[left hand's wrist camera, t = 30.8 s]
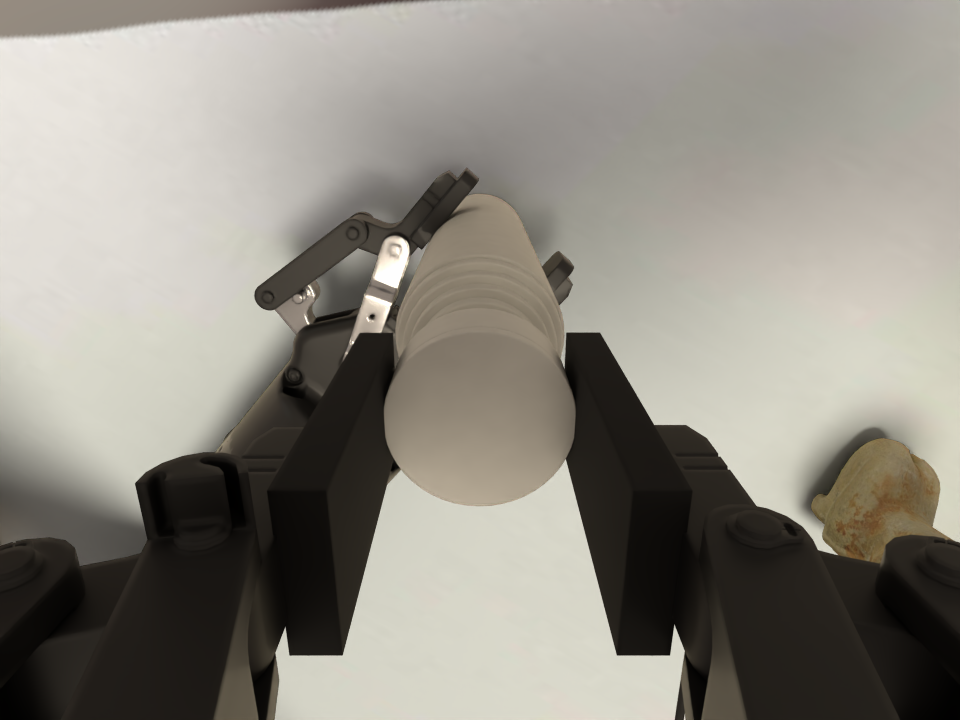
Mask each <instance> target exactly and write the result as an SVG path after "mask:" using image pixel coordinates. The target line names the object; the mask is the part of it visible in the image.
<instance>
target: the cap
mask: <svg viewBox="0 0 960 720" xmlns="http://www.w3.org/2000/svg"><path fill="white" fill-rule="evenodd" d="M575 416H576V405H575V400H574V396H573V393H572V390H571V387H570V384H569V381H568V378H567V375H566V373H565V370H564V367H563V364H562V361H561V359H560V357H559V355H558V353H557V351H556V349H555V348H554V346H553V345H552V343H551V342H550V341H549V339H548V338H547V337H546V336H545V335H544V334H543V333H542V332H541V331H540V330H539V329H538V328H536V327H535V326H534V325H532V324H531V323H529V322H528V321H526V320H524V319H522V318H520V317H518V316H516V315H514V314H511V313H508V312H505V311H501V310H496V309H488V308H471V309H464V310H458V311H455V312H452V313H448V314H446V315H443V316H441V317H439V318H437V319H435V320H433V321H432V322H430V323H429V324H427V325H426V326H425V327H423V328H422V329H421V330H420V331H419V332H417V333H416V335H415V336H414V337H413V338H412V339H411V340H410V341H409V343H408V344H407V346H406V347H405V349H404V350H403V352H402V354H401V356H400V358H399V360H398V363H397V366H396V369H395V372H394V375H393V377H392V380H391V383H390V386H389V389H388V392H387V395H386V398H385V403H384V424H385V438H386V442H387V445H388V447H389V450H390V452H391V455H392V456H393V458H394V460H395V461H396V463H397V465H398V466H399V467H400V469H401V470H402V471H403V472H404V474H405V475H406V476H407V477H408V478H409V479H410V480H411V481H413V482H414V483H415V484H416V485H418V486H419V487H420V488H422V489H423V490H425V491H426V492H428V493H430V494H432V495H434V496H436V497H438V498H441V499H443V500H446V501H449V502H452V503H456V504H462V505H469V506H491V505H498V504H503V503H507V502H511V501H514V500H516V499H519V498H521V497H524V496H526V495H528V494H530V493H531V492H533V491H535V490H536V489H538V488H539V487H541V486H542V485H543V484H545V483H546V482H547V481H548V480H549V479H550V478H551V477H552V476H553V475H554V474H555V473H556V472H557V471H558V469H559V468H560V467H561V465H562V464H563V462H564V461H565V459H566V458H567V456H568V453H569V451H570V449H571V447H572V444H573V440H574V433H575Z"/></svg>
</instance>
